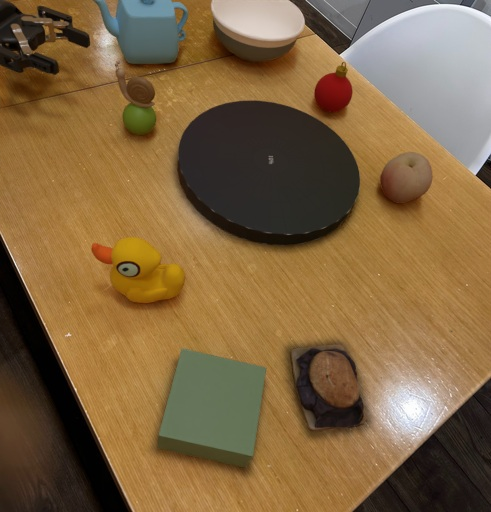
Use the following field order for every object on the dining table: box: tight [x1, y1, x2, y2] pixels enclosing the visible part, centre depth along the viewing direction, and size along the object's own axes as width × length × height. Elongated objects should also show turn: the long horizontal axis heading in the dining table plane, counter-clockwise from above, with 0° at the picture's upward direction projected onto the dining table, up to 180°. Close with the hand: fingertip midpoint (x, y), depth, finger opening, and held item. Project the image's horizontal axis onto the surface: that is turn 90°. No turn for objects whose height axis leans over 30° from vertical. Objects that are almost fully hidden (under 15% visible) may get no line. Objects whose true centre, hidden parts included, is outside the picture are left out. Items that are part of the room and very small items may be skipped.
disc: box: [176, 99, 361, 246], centre depth 82 cm, size 30×30×3 cm
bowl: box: [210, 0, 306, 63], centre depth 100 cm, size 19×19×8 cm
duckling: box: [90, 236, 186, 304], centre depth 62 cm, size 11×5×10 cm, turn 86°
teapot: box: [92, 0, 189, 65], centre depth 92 cm, size 12×18×12 cm
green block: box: [156, 347, 267, 469], centre depth 56 cm, size 10×10×5 cm
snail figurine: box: [114, 60, 157, 136], centre depth 78 cm, size 5×6×12 cm
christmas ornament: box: [313, 61, 353, 113], centre depth 92 cm, size 7×7×10 cm
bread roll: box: [290, 343, 366, 433], centre depth 61 cm, size 11×8×4 cm
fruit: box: [379, 151, 434, 204], centre depth 82 cm, size 8×8×8 cm
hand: (73, 54), depth 77 cm, fingers open, 8 cm apart
